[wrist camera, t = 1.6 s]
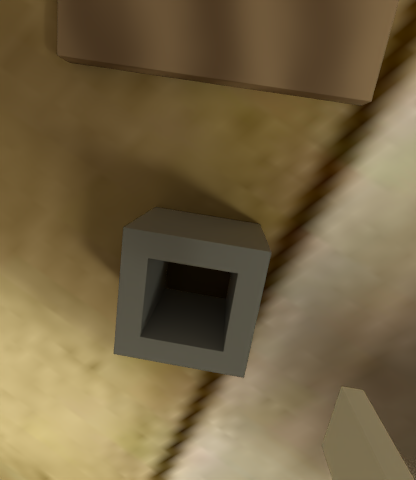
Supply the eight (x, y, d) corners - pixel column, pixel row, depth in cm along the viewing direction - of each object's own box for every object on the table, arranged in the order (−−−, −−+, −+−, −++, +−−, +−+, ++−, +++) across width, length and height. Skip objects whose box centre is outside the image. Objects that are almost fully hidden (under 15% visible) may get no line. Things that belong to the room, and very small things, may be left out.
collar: (259, 224, 23) (271, 252, 16) (240, 318, 25) (243, 377, 18) (155, 206, 23) (123, 227, 16) (145, 301, 25) (113, 353, 18)
